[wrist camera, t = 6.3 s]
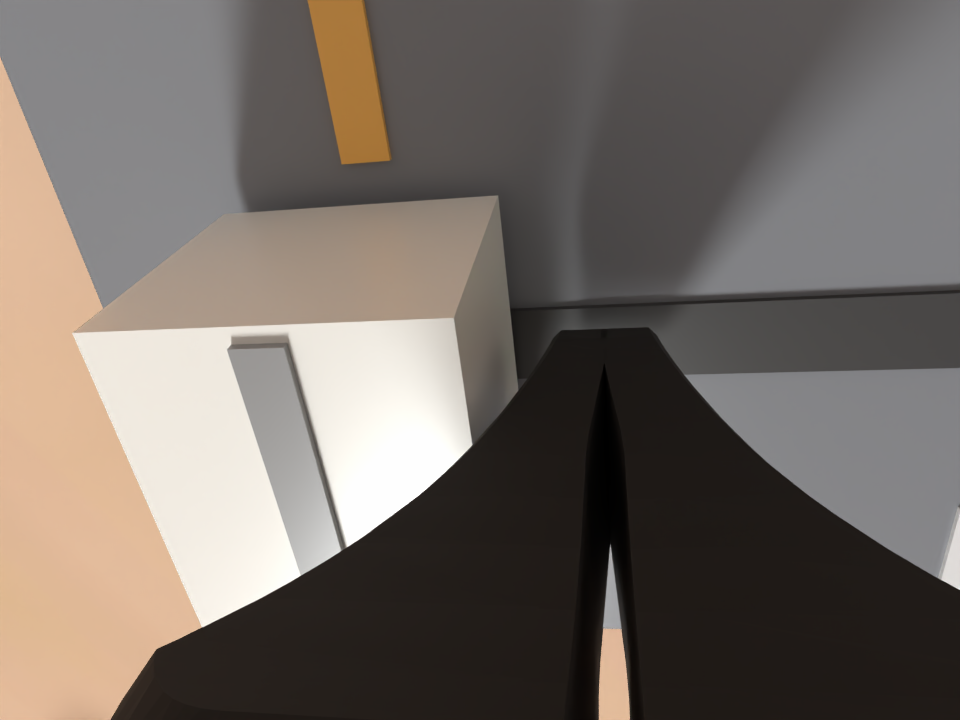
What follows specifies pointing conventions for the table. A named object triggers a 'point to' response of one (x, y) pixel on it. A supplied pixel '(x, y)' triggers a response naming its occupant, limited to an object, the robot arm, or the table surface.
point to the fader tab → (303, 380)
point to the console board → (579, 187)
